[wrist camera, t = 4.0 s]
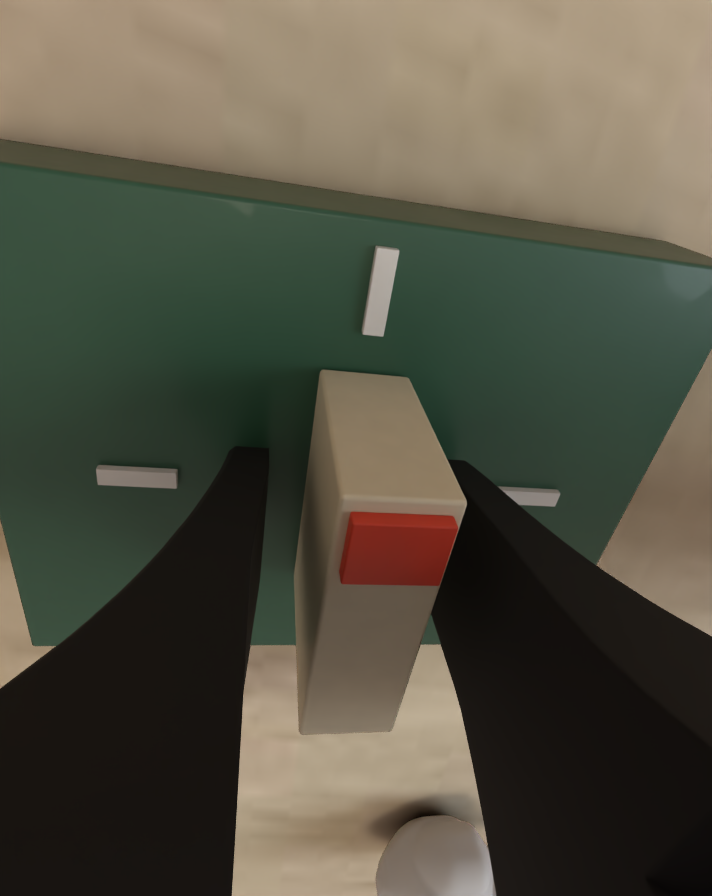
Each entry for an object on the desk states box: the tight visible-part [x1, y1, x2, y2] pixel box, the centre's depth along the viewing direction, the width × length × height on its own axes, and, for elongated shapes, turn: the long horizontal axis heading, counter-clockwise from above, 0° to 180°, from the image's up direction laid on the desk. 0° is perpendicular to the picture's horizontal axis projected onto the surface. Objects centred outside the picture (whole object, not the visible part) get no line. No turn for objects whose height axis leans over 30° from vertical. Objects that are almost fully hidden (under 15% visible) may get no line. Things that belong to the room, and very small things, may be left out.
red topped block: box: [294, 370, 467, 735], centre depth 9 cm, size 5×2×4 cm, turn 172°
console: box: [0, 139, 712, 646], centre depth 12 cm, size 13×10×3 cm
